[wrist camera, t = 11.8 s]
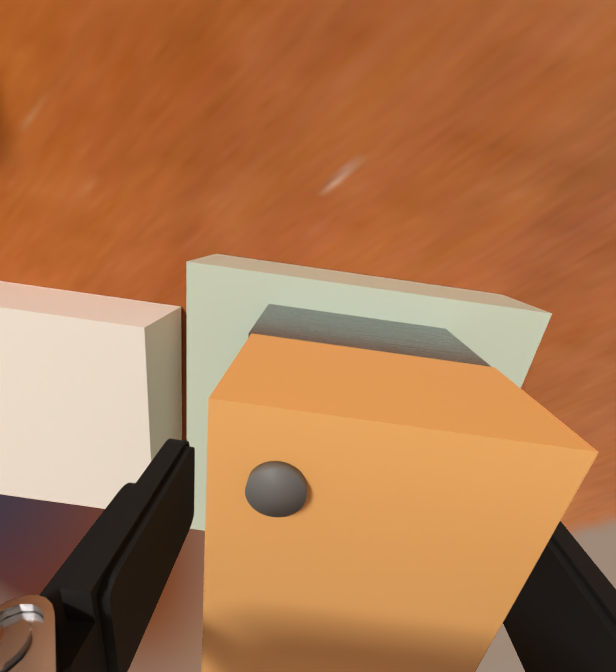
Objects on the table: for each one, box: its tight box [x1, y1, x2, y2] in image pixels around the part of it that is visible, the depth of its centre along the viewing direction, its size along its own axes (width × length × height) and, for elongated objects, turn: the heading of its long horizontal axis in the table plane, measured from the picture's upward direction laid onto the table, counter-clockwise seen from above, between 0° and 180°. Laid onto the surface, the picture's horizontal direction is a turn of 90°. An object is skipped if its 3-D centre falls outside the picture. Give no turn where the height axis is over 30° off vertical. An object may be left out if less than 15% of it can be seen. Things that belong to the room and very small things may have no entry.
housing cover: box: [202, 333, 598, 672], centre depth 8 cm, size 10×6×3 cm, turn 172°
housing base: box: [248, 304, 491, 367], centre depth 11 cm, size 10×6×3 cm, turn 172°
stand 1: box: [0, 281, 182, 509], centre depth 14 cm, size 11×9×3 cm
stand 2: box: [187, 254, 552, 530], centre depth 13 cm, size 12×12×3 cm
